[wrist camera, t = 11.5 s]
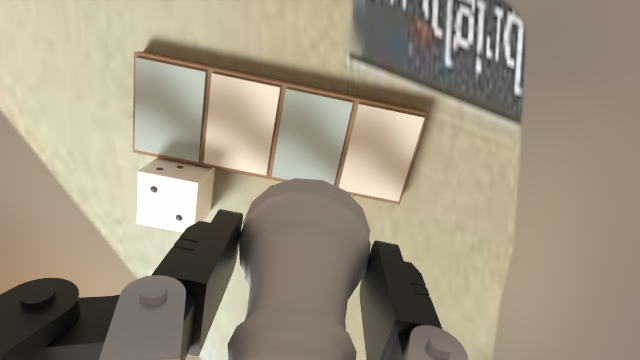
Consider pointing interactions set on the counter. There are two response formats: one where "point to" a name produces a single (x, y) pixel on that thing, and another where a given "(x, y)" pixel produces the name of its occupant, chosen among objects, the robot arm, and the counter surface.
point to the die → (174, 194)
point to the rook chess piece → (300, 272)
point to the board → (272, 127)
